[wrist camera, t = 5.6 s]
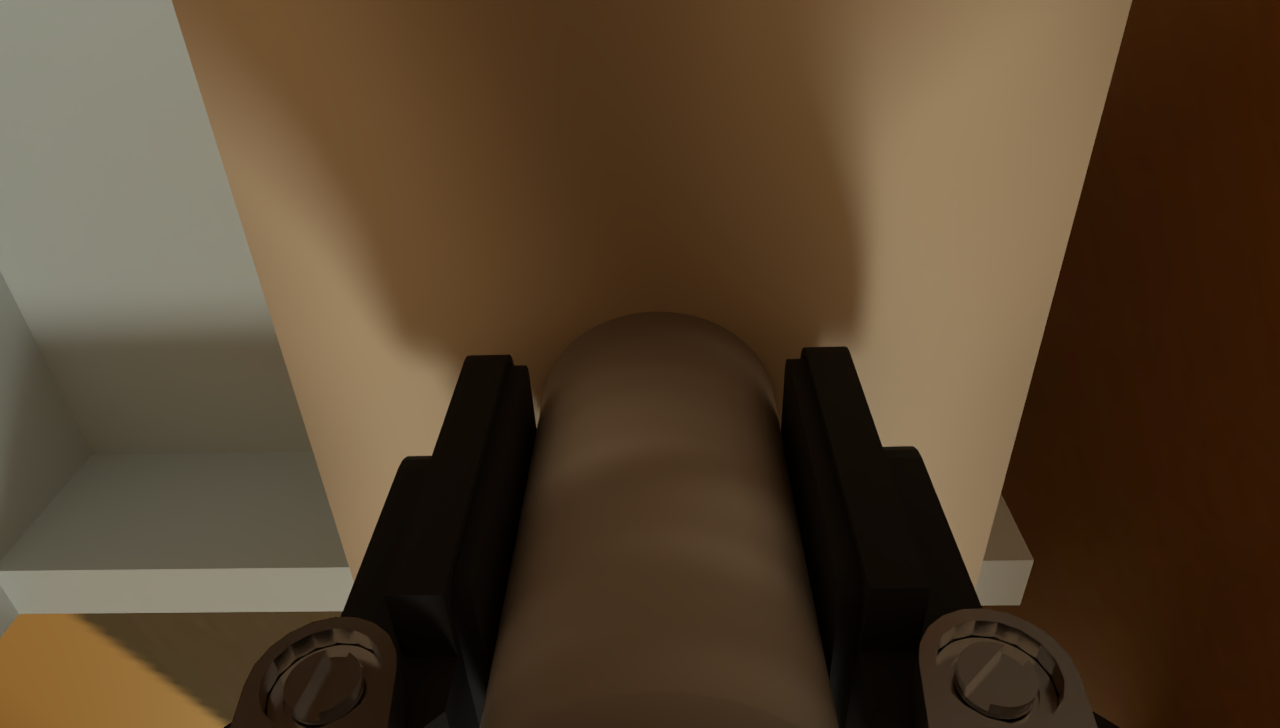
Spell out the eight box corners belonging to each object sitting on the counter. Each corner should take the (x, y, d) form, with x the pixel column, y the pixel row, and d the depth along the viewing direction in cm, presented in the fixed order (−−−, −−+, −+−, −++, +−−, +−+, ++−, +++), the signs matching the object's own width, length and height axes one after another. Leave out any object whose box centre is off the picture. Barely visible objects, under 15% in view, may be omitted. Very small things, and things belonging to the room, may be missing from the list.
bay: (1117, -287, 14) (1440, -346, 8) (954, 459, 23) (1054, 683, 17) (-278, -228, 15) (-875, -245, 9) (81, 471, 24) (-106, 690, 18)
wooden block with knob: (950, -136, 14) (1782, 52, 4) (868, 434, 21) (1083, 1081, 10) (356, -114, 15) (-427, 115, 4) (460, 440, 21) (267, 1074, 11)
